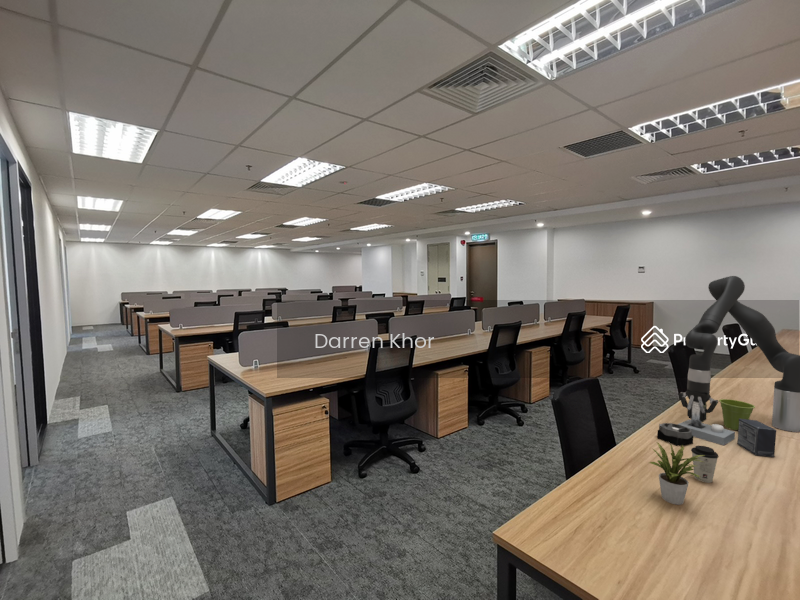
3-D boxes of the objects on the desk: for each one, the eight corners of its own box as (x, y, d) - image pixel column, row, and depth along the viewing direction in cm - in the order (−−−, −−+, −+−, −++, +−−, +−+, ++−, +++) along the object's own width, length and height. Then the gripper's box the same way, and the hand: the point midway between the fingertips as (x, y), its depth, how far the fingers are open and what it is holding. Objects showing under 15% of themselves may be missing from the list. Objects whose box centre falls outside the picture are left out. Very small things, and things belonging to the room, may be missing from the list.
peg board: (688, 426, 168) (689, 414, 167) (734, 438, 154) (735, 425, 154) (676, 431, 161) (677, 419, 161) (723, 445, 148) (724, 432, 147)
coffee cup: (710, 486, 117) (712, 455, 117) (685, 476, 123) (686, 446, 123) (721, 481, 121) (723, 451, 120) (696, 471, 127) (697, 442, 126)
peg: (692, 422, 163) (693, 399, 162) (702, 424, 160) (704, 401, 159) (689, 424, 161) (690, 401, 160) (699, 426, 158) (701, 403, 157)
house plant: (710, 524, 99) (713, 463, 98) (647, 506, 106) (649, 450, 106) (701, 497, 111) (704, 443, 110) (646, 484, 118) (648, 433, 118)
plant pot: (751, 436, 157) (753, 409, 157) (715, 427, 166) (716, 402, 166) (755, 429, 165) (756, 403, 164) (720, 421, 174) (721, 397, 173)
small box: (776, 458, 138) (778, 429, 137) (755, 456, 139) (757, 428, 138) (755, 445, 148) (757, 419, 147) (736, 444, 149) (737, 418, 149)
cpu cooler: (697, 430, 149) (680, 433, 145) (696, 444, 149) (679, 448, 145) (670, 421, 158) (654, 424, 155) (669, 434, 158) (653, 437, 155)
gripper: (675, 377, 163) (673, 416, 164) (716, 385, 151) (713, 427, 152) (683, 374, 167) (680, 413, 168) (723, 382, 155) (720, 423, 156)
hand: (696, 419), depth 160 cm, fingers closed on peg, 3 cm apart
